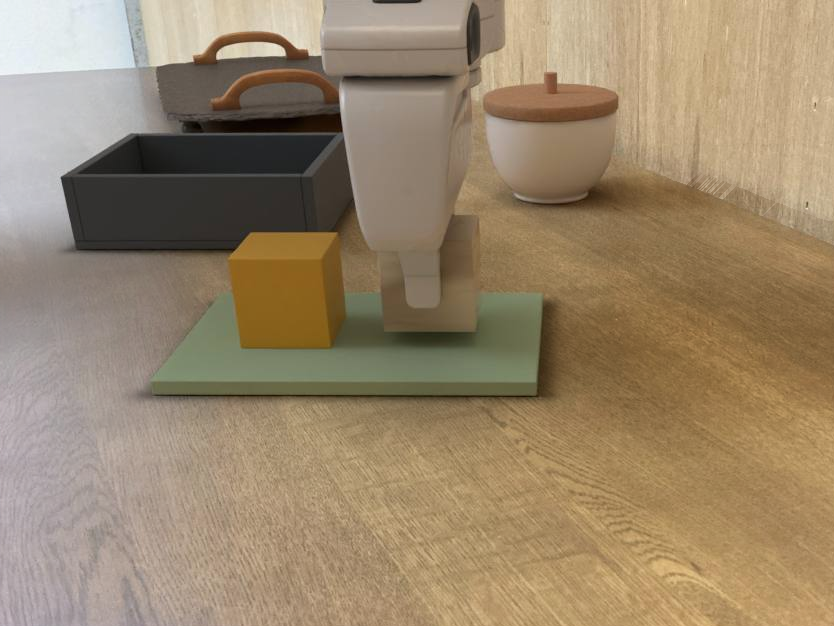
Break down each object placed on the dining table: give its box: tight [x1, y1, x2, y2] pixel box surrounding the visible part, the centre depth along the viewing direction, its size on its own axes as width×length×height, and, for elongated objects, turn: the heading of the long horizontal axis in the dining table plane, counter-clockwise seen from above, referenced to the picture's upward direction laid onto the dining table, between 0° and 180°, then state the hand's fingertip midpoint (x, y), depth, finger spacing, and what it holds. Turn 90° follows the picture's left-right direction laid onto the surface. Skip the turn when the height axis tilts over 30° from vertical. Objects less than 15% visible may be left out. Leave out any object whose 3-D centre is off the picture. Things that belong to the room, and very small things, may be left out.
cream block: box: [376, 214, 483, 332], centre depth 63 cm, size 5×5×5 cm
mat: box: [149, 291, 544, 397], centre depth 65 cm, size 20×14×1 cm
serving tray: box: [155, 30, 342, 133], centre depth 126 cm, size 39×23×6 cm, turn 18°
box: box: [60, 132, 354, 250], centre depth 86 cm, size 18×15×5 cm
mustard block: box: [227, 231, 347, 348], centre depth 63 cm, size 5×5×5 cm
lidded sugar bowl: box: [482, 71, 619, 204], centre depth 91 cm, size 11×11×9 cm
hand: (431, 285), depth 63 cm, fingers closed on cream block, 5 cm apart
